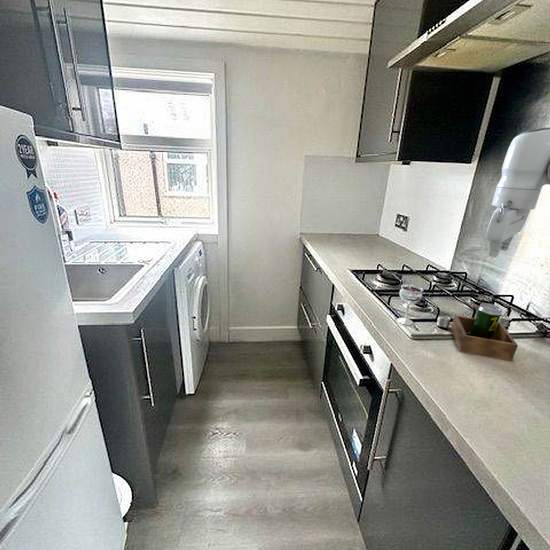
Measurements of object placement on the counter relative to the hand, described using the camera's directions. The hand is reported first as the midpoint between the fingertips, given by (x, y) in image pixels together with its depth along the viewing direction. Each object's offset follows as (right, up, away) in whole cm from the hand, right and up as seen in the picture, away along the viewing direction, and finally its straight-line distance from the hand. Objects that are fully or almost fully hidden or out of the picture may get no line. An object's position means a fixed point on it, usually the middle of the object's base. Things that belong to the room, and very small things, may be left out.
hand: (498, 253), depth 80 cm
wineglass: (-17, -21, +19) cm, 33 cm away
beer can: (0, -26, +8) cm, 27 cm away
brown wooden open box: (0, -26, +8) cm, 27 cm away
